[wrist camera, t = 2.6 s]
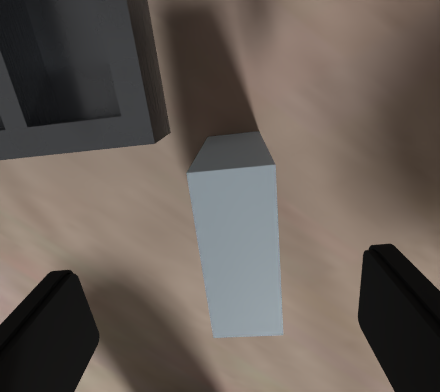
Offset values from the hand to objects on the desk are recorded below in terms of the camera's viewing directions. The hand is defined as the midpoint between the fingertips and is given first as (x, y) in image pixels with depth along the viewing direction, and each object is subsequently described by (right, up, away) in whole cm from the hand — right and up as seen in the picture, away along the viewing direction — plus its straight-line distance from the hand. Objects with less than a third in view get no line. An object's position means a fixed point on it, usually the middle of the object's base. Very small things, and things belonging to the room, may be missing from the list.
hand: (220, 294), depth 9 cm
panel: (+1, +3, +10) cm, 10 cm away
